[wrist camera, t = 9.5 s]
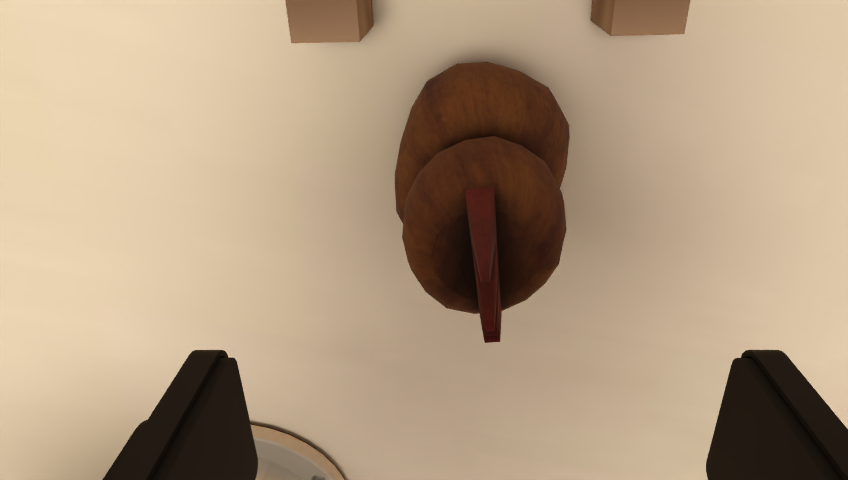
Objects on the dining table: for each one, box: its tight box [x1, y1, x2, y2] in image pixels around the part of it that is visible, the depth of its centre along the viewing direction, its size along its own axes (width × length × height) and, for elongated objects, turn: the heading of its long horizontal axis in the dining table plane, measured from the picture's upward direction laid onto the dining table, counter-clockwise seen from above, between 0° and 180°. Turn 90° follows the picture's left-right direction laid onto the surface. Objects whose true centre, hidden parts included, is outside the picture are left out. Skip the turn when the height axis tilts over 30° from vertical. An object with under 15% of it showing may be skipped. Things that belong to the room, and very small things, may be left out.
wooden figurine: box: [395, 62, 569, 343], centre depth 18 cm, size 7×6×15 cm
